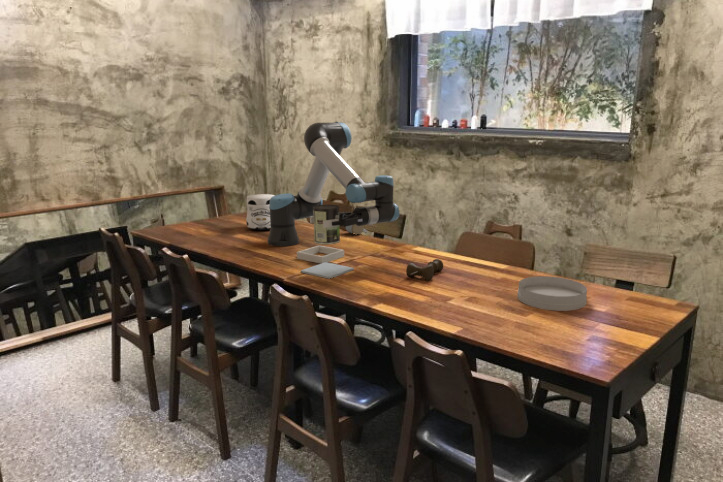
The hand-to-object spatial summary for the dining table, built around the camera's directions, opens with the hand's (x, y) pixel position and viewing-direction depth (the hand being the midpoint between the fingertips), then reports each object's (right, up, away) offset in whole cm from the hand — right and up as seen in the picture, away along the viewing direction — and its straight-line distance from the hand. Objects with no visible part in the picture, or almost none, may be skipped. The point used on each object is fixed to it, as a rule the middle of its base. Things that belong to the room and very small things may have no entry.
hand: (316, 222), depth 212 cm
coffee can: (+4, -8, +4) cm, 10 cm away
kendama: (+42, -21, 0) cm, 47 cm away
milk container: (-37, -1, +87) cm, 95 cm away
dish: (+81, -27, -27) cm, 90 cm away
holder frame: (-1, -15, +27) cm, 31 cm away
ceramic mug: (+15, -4, +74) cm, 75 cm away
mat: (+4, -19, +7) cm, 21 cm away
